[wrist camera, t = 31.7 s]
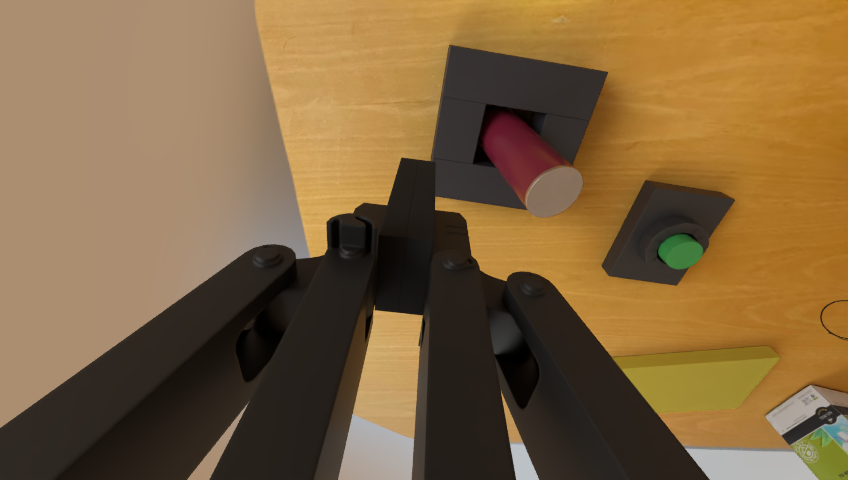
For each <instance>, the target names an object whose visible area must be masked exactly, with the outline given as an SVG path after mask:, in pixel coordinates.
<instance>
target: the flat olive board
mask: <svg viewBox="0 0 848 480" xmlns="http://www.w3.org/2000/svg"><path fill="white" fill-rule="evenodd" d="M612 358H613V360H614V361H615V362H616V363H617V365H618V366H619V367H620V368H621V370H622V371H623V372H624V373H625V375H626V376H627V377H628V378H629V380H630V381H631V382H632V383H633V385H634V386H635V387H636V388H637V390H638V391H639V392H640V393H641V395H642V396H643V397H644V398H645V400H646V401H647V402H648V403H649V405H650V406H651V407H652V408H653V410H654V411H655V412H656V413H671V412H689V411H706V410H723V409H737V408H738V407H739V406H740V404H741V403H742V402H743V401H744V400H745V399H746V398H747V396H748V395H749V394H750V393H751V392H752V391H753V389H754V388H755V387H756V386H757V385H758V384H759V383H760V381H761V380H762V379H763V378H764V377H765V376H766V374H767V373H768V372H769V371H770V370H771V369H772V367H773V366H774V365H775V364H776V363H777V362H778V361H779V359H780V358H781V357H780V356H779V355H778V354H777V353H776V352H775V351H774V350H773V349H772V348H770V347H769V346H756V347H743V348H730V349H716V350H703V351H690V352H677V353H664V354H650V355H637V356H624V357H612Z"/></svg>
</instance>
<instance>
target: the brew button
mask: <svg viewBox="0 0 848 480" xmlns="http://www.w3.org/2000/svg"><path fill="white" fill-rule="evenodd" d="M658 254H659V256H660V258H661V259H662V260H663V261H664V262H665V263H667V264H668V265H669V266H670V267H671V268H674V269H685V268H688V267H690V266H692V265H694V264H695V263H696V262H698V261H699V259H700V258H701V256H702V254H703V248H702V246H701V245H700V244H699V243H698V242H696V241H695V240H694V239H692V238H691V237H690V236H688V235H686V234H676V235H673V236H670V237H668V238H667V239H666V240H664V241H663V242H662V243H661V245H660V247H659V249H658Z"/></svg>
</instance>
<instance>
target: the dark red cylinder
mask: <svg viewBox="0 0 848 480" xmlns="http://www.w3.org/2000/svg"><path fill="white" fill-rule="evenodd" d="M478 144H479V145H480V147H481V148H482V149H483V151H484V152H485V153H486V155H487V156H488V157H489V159H490V160H491V161H492V163H493V164H494V165H495V167H496V168H497V169H498V171H499V172H500V173H501V175H502V176H503V177H504V179H505V180H506V181H507V183H508V184H509V185H510V187H511V188H512V190H513V191H514V192H515V194H516V195H517V196H518V198H519V199H520V200H521V202H522V203H523V204H524V206H525V207H526V208H527V210H528V211H529V212H530V213H531V214H532V215H534V216H536V217H551V216H554V215H557V214H559V213H561V212H563V211H564V210H566V209H567V208H568V207H569V206H571V205H572V204H573V203H574V202H575V200H576V199H577V198H578V196H579V194H580V192H581V190H582V186H583V179H582V176H581V174H580V172H579V171H578V170H577V169H575V168H574V167H573V166H572V165H571V164H570V163H569V162H568V161H567V160H566V159H565V158H563V157H562V156H561V155H560V154H559V153H558V152H557V151H556V150H555V149H554V148H553V147H551V146H550V145H549V144H548V143H547V142H546V141H545V140H544V139H543V138H542V137H540V136H539V135H538V134H537V133H536V132H535V131H534V130H533V129H532V128H531V127H530V126H528V125H527V124H526V123H525V122H524V121H523V120H522V119H521V118H520V117H519V116H518V115H516V114H515V113H514V112H513V111H512V110H511V109H509V108H507V107H495V108H492V109H490V110H489V111H487V112H486V113H485V114H484V116H483V121H482V125H481V129H480V134H479V138H478Z"/></svg>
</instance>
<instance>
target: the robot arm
mask: <svg viewBox="0 0 848 480" xmlns="http://www.w3.org/2000/svg"><path fill="white" fill-rule="evenodd" d="M435 177H436V162H432V161H424V160H416V159H408V158H401V161H400V165H399V168H398V171H397V175H396V178H395V181H394V185H393V188H392V191H391V195H390V198H389V202H388V205H379V204H370V203H363V204H362V205H360V206H358V207H357V208H356V209H355V211H354V213H353V214H351V213H347V214H341V215H337V216H335V217H332V218H330V219H329V220H328V221H327V244H328V249H327V251H326V253H325V255H323V256H319V257H313V258H305V259H296V255H295V253H294V251H293V250H292V249H290V248H288V247H286V246H283V245H275V244H274V245H263V246H259V247H256V248H253V249H251V250H249V251H247V252H245V253H244V254H243V255H241V256H240V257H238V258H237V259H236V260H234V261H233V262H231V263H230V264H229V265H227V266H226V267H225V268H223V269H222V270H220V271H219V272H218V273H216V274H215V275H213V276H212V277H211V278H209V279H208V280H207V281H205V282H204V283H202V284H201V285H199V286H198V287H197V288H195V289H194V290H192V291H191V292H190V293H188V294H187V295H185V296H184V297H183V298H181V299H180V300H178V301H177V302H176V303H174V304H173V305H171V306H170V307H169V308H167V309H166V310H164V311H163V312H162V313H160V314H159V315H158V316H156V317H155V318H153V319H152V320H151V321H149V322H148V323H146V324H145V325H144V326H142V327H141V328H139V329H138V330H137V331H135V332H134V333H132V334H131V335H130V336H128V337H127V338H125V339H124V340H123V341H121V342H120V343H118V344H117V345H116V346H114V347H113V348H112V349H110V350H109V351H107V352H106V353H104V354H103V355H102V356H100V357H99V358H98V359H96V360H95V361H93V362H92V363H91V364H89V365H88V366H86V367H85V368H84V369H82V370H81V371H79V372H78V373H77V374H75V375H74V376H72V377H71V378H70V379H68V380H67V381H65V382H64V383H63V384H61V385H60V386H58V387H57V388H56V389H55V390H53V391H51V392H50V393H49V394H47V395H46V396H44V397H43V398H42V399H40V400H39V401H38V402H36V403H35V404H33V405H32V406H31V407H29V408H28V409H26V410H25V411H24V412H22V413H21V414H19V415H18V416H17V417H15V418H14V419H12V420H11V421H10V422H8V423H7V424H6V425H4V426H3V427H1V428H0V480H187V479H188V478H189V476H190V475H191V474H192V473H193V471H194V470H195V469H196V468H197V466H198V465H199V464H200V462H201V461H202V460H203V458H204V457H205V456H206V455H207V454H208V452H209V451H210V450H211V449H212V447H213V446H214V445H215V444H216V442H217V441H218V440H219V439H220V437H221V436H222V435H223V434H224V432H225V431H226V430H227V429H228V427H229V426H230V425H231V424H232V422H233V421H234V420H235V419H236V417H237V416H238V415H239V414H240V412H241V411H242V410H243V409H244V407H245V406H246V405H247V404H248V405H247V407H246V409H245V411H244V413H243V415H242V417H241V419H240V421H239V423H238V425H237V427H236V429H235V431H234V433H233V435H232V437H231V439H230V441H229V443H228V445H227V447H226V449H225V450H224V452H223V454H222V456H221V458H220V460H219V462H218V464H217V466H216V468H215V470H214V472H213V474H212V476H211V478H210V480H338V477H339V472H340V467H341V463H342V459H343V454H344V449H345V445H346V440H347V436H348V432H349V427H350V423H351V418H352V414H353V409H354V405H355V400H356V396H357V391H358V387H359V382H360V378H361V373H362V369H363V364H364V360H365V356H366V351H367V347H368V342H369V338H370V333H371V329H372V324H373V310H374V306H375V310H379V311H388V312H397V313H406V314H416V315H423V319H422V326H421V332H420V339H419V345H418V346H420V355H419V371H418V387H417V404H416V420H415V436H414V453H413V469H412V480H516V477H515V471H514V465H513V459H512V454H511V448H510V442H509V436H508V430H507V425H506V419H505V413H504V407H503V402H502V396H501V391H502V394H503V396H504V398H505V401H506V403H507V405H508V408H509V410H510V412H511V415H512V417H513V419H514V422H515V424H516V426H517V429H518V431H519V433H520V436H521V438H522V440H523V443H524V445H525V447H526V450H527V452H528V454H529V457H530V459H531V461H532V464H533V466H534V468H535V470H536V473H537V475H538V478H539V480H709V478H708V477H707V476H706V474H705V473H704V472H703V471H702V469H701V468H700V467H699V466H698V465H697V463H696V462H695V461H694V460H693V458H692V457H691V456H690V454H689V453H688V452H687V451H686V450H685V448H684V447H683V446H682V444H681V443H680V442H679V441H678V440H677V438H676V437H675V436H674V435H673V433H672V432H671V431H670V430H669V428H668V427H667V426H666V425H665V423H664V422H663V421H662V420H661V418H660V417H659V416H658V415H657V413H656V412H655V411H654V410H653V408H652V407H651V406H650V405H649V403H648V402H647V401H646V400H645V398H644V397H643V396H642V395H641V393H640V392H639V391H638V390H637V388H636V387H635V386H634V385H633V383H632V382H631V381H630V380H629V378H628V377H627V376H626V375H625V373H624V372H623V371H622V370H621V368H620V367H619V366H618V365H617V363H616V362H615V361H614V360H613V358H612V357H611V356H610V355H609V353H608V352H607V351H606V350H605V348H604V347H603V346H602V345H601V343H600V342H599V341H598V340H597V338H596V337H595V336H594V335H593V333H592V332H591V331H590V330H589V328H588V327H587V326H586V325H585V323H584V322H583V321H582V320H581V318H580V317H579V316H578V315H577V313H576V312H575V311H574V310H573V308H572V307H571V306H570V305H569V303H568V302H567V301H566V300H565V298H564V297H563V296H562V295H561V293H560V292H559V291H558V290H557V288H556V287H555V286H554V285H553V284H552V283H551V282H550V281H549V280H547V279H545V278H544V277H542V276H540V275H537V274H534V273H531V272H515V273H512V274H511V275H509V276H508V278H507V282H506V281H503V280H500V279H497V278H494V277H492V276H489V275H487V274H485V273H483V272H482V271H480V269H479V265H478V263H477V260H476V259H474V258H473V257H472V256H471V249H470V243H469V236H468V230H467V223H466V220H465V219H464V217H463V216H462V215H461V214H460V213H455V212H446V211H438V210H435ZM500 389H501V390H500ZM249 401H250V402H249ZM248 402H249V403H248Z"/></svg>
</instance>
